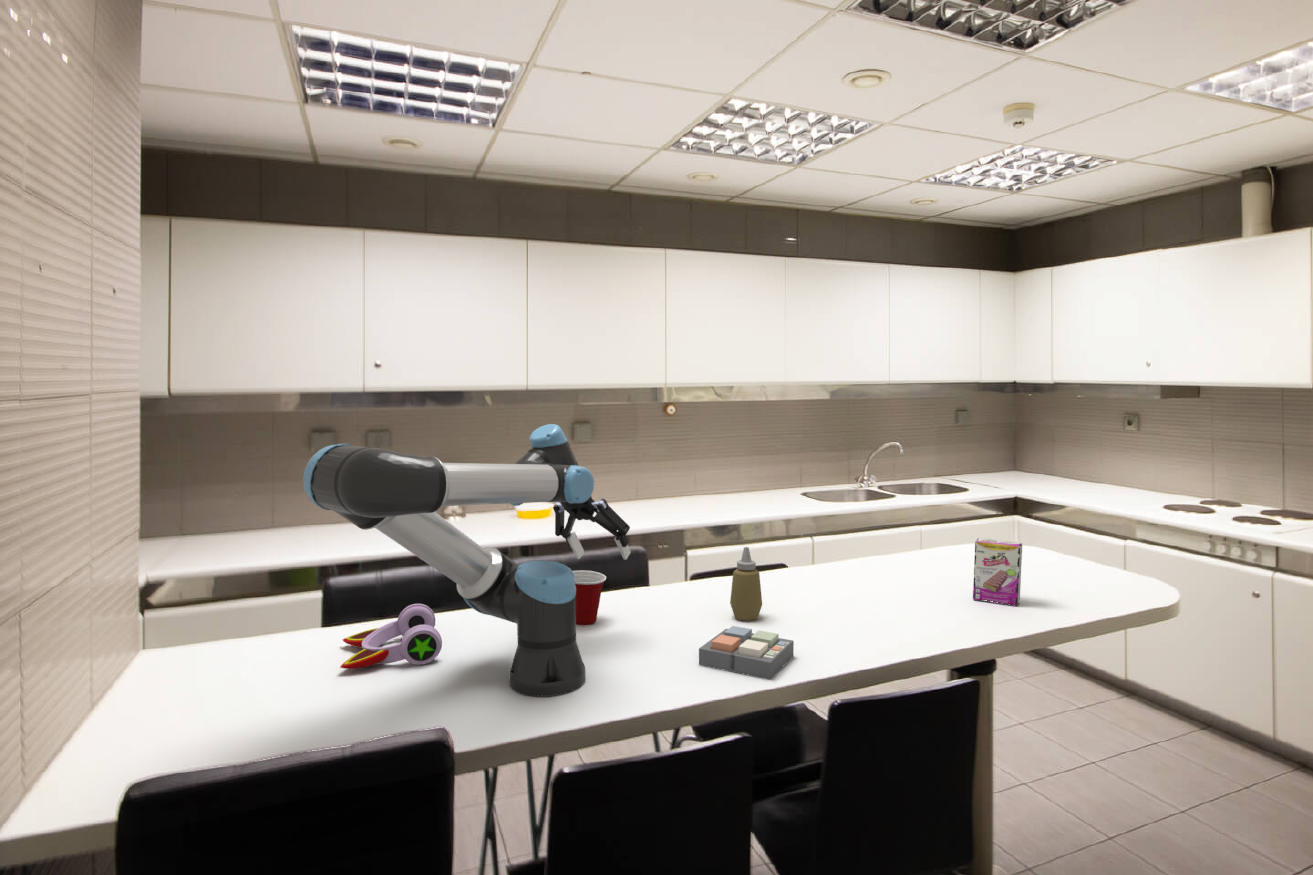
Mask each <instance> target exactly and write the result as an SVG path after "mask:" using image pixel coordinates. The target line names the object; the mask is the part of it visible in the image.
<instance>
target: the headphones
mask: <svg viewBox="0 0 1313 875" xmlns="http://www.w3.org/2000/svg"><path fill="white" fill-rule="evenodd" d="M435 626H436V615H435V614H434V611H433V609H432V608H430V606H428V605H426V604H423V603H413V604H409V605H407V606H406V607H405V608H404V609H403V610H402V611H401V612H400V613H399V615H398V617H397V619H396V620H394V621H391V622H388V623H387V624H384V625H382V626H380V627H375V628H371V629H368V630H363V631H360V632H357V633H355V634H353V635H350V636H347V637H344V638H343V639H342V641H343V642H344V643H345V644H347V645H350V646H353V647H357V648H362V650H360V651H359V652H358V651H357V653H355V654H353V655H352V656H351V657H349V658H347V660H345V661H344V662H343V663H342V664H341V665H340V666H339V668H340V669H347V670H354V669H363V668H368V667H372V666H374V665H387V664H393V663H397V662H401V661H403V660H405V661H407V662H408V663H410V664H412V663H413V665H418V666H419V665H420V664H423V665H427V664H429V663H431V662H432V661H433V660H435V659H436V658H437V657H438V656H439V655H440V653H441V650H442V647H443V639H442V635H441V634H440V631H438V629H436V628H435ZM400 636H402V638H401V641H400V642H399V643H396V644H393V645H388V646H383V647H382V645H383V644H384V643H387V642H389V641H390V640H393V639H395V638H397V637H400ZM380 646H381V647H380ZM377 663H378V664H377ZM426 663H427V664H426ZM420 666H421V665H420Z"/></svg>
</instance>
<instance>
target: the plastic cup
mask: <svg viewBox="0 0 1313 875" xmlns="http://www.w3.org/2000/svg"><path fill="white" fill-rule="evenodd" d="M572 572H573V574H574V578H575V586H576V626H584V627H585V626H591V625H594V624H595V623H596V622H597V619H598V611H599V607H600V600H601V595H602V590H603V586H604V584H605V581H606V579H607V576H606V575H605V574H603V573H601V572H597V571H593V570H583V569H582V570H572Z"/></svg>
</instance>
